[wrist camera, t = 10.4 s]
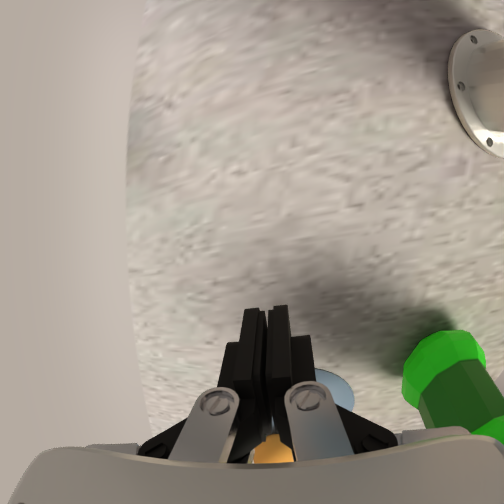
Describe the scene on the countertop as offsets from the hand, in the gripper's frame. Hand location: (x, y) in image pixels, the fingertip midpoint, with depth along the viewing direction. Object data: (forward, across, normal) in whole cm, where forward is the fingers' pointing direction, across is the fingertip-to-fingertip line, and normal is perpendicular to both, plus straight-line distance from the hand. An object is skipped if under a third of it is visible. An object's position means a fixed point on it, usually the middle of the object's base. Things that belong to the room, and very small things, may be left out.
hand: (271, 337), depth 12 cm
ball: (+11, +3, +28) cm, 30 cm away
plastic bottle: (+14, -16, +16) cm, 27 cm away
